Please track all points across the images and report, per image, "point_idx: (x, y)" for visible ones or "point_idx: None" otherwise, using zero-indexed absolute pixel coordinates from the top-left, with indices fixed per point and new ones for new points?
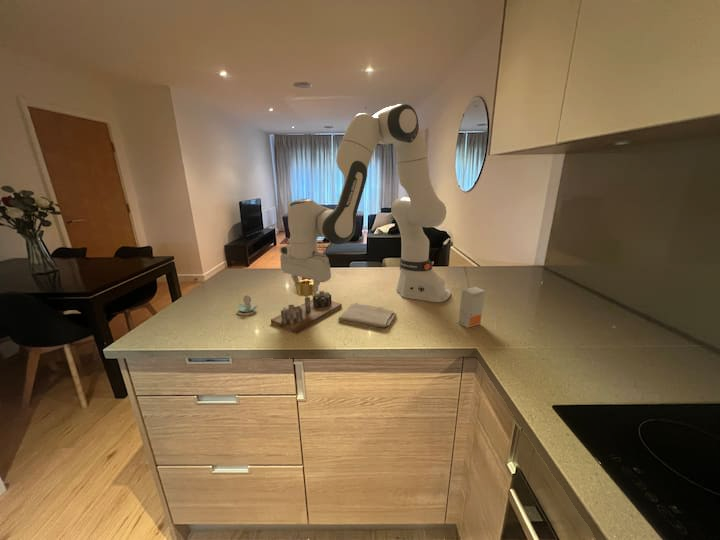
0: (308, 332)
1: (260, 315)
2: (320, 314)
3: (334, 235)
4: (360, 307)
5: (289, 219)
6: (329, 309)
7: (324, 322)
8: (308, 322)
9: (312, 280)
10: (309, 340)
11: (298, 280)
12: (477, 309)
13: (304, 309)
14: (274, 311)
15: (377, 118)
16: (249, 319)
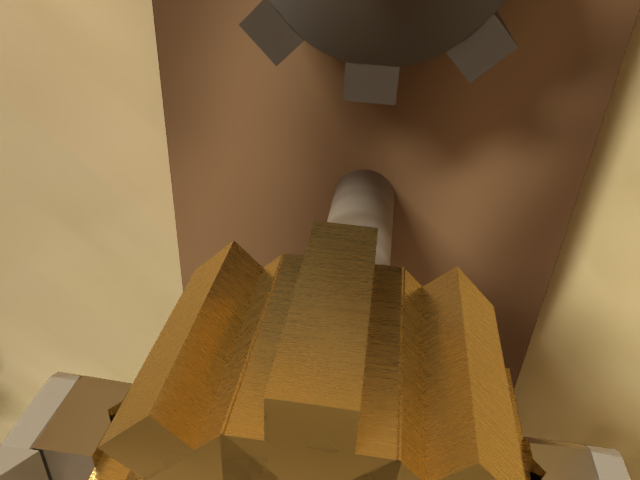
0: (563, 397)
1: (25, 339)
2: (550, 201)
3: None
4: None
5: None
6: (604, 30)
7: (625, 228)
8: (520, 367)
9: (355, 452)
10: (630, 463)
11: (29, 472)
12: None
13: (293, 180)
14: (33, 249)
15: None
16: (32, 400)
